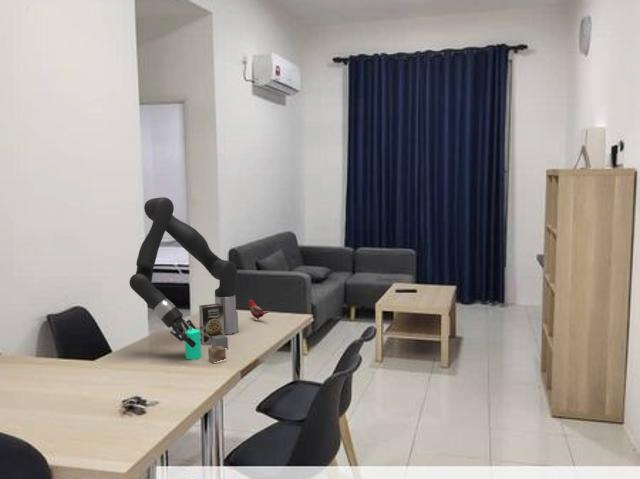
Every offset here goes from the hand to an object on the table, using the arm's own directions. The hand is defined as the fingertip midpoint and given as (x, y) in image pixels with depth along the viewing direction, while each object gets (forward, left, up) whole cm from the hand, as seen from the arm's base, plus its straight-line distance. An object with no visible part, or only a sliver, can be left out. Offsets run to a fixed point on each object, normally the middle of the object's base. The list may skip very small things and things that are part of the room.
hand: (197, 343), depth 224 cm
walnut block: (-5, +9, -5) cm, 11 cm away
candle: (+1, -1, -6) cm, 6 cm away
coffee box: (-13, -17, -6) cm, 22 cm away
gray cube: (-12, -6, -5) cm, 14 cm away
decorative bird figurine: (-45, -38, -6) cm, 59 cm away
